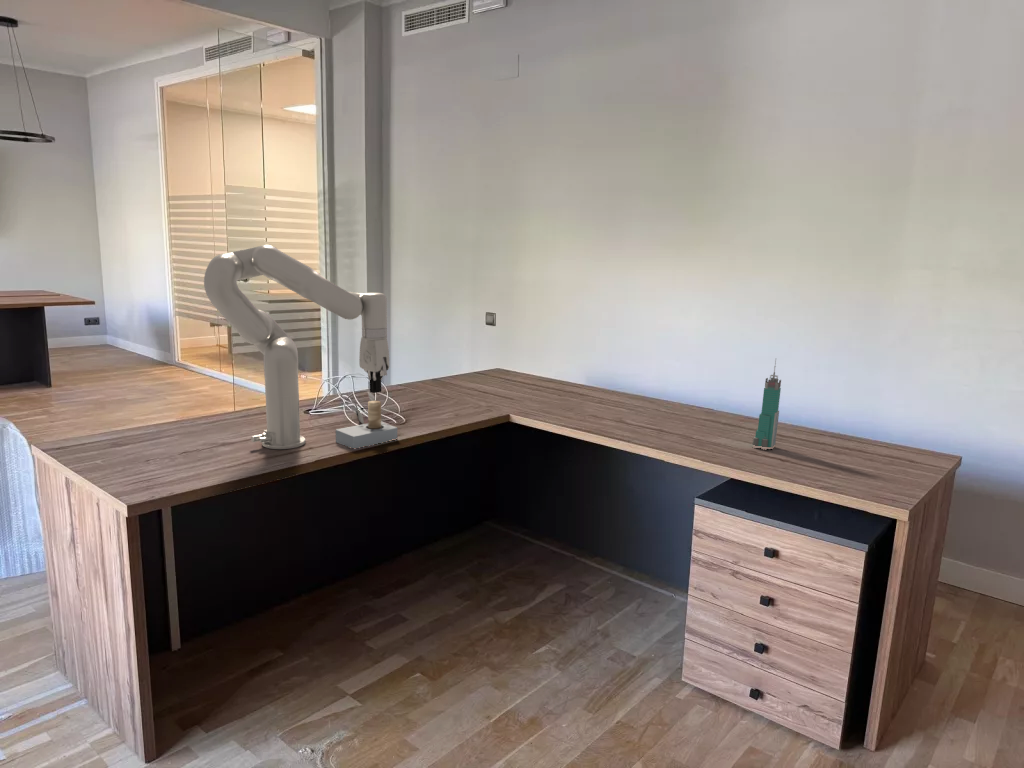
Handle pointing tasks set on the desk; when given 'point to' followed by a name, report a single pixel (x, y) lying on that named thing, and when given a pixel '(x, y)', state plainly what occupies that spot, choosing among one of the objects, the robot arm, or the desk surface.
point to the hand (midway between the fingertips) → (375, 391)
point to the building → (769, 413)
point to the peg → (374, 415)
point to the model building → (360, 416)
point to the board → (365, 435)
